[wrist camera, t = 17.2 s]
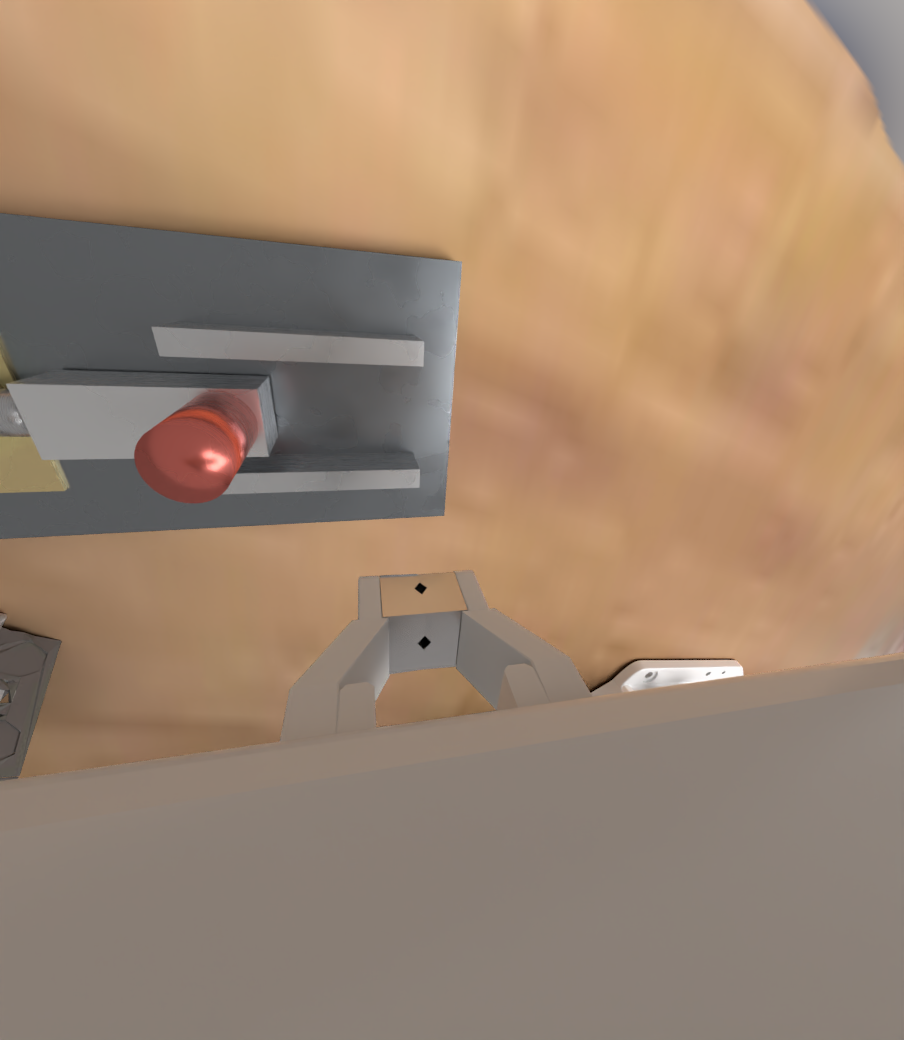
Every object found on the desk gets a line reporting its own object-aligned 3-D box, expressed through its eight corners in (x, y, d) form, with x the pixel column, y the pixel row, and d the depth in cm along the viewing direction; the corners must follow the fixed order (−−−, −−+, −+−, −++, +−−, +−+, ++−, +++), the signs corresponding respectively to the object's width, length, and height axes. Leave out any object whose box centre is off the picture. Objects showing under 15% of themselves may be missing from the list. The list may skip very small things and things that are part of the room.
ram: (268, 376, 18) (229, 421, 12) (278, 436, 19) (246, 504, 13) (-38, 366, 15) (-292, 418, 9) (-1, 436, 16) (-201, 522, 10)
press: (456, 262, 18) (509, 250, 12) (440, 507, 25) (470, 576, 19) (-400, 173, 12) (-1125, 62, 6) (-121, 534, 18) (-339, 650, 12)
